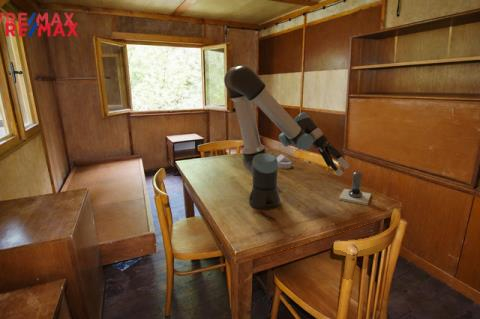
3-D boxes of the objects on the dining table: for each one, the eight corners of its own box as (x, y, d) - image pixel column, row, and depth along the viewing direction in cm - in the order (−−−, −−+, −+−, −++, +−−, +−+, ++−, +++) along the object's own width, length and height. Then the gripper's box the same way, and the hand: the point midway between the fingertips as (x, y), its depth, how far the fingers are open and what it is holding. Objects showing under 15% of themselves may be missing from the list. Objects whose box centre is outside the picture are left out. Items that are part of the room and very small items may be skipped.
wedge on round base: (274, 163, 194) (279, 168, 182) (275, 154, 192) (280, 159, 180) (287, 162, 195) (292, 168, 183) (287, 153, 194) (293, 158, 181)
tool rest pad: (367, 205, 128) (367, 203, 128) (338, 199, 134) (339, 197, 134) (370, 195, 139) (371, 193, 138) (344, 190, 145) (344, 188, 145)
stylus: (361, 199, 132) (364, 175, 129) (347, 196, 135) (349, 173, 132) (362, 194, 137) (365, 172, 134) (349, 192, 140) (352, 170, 137)
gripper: (315, 138, 127) (345, 174, 123) (329, 130, 147) (355, 161, 143) (303, 147, 131) (332, 182, 127) (319, 138, 151) (343, 169, 148)
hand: (344, 171), depth 135 cm, fingers open, 13 cm apart
